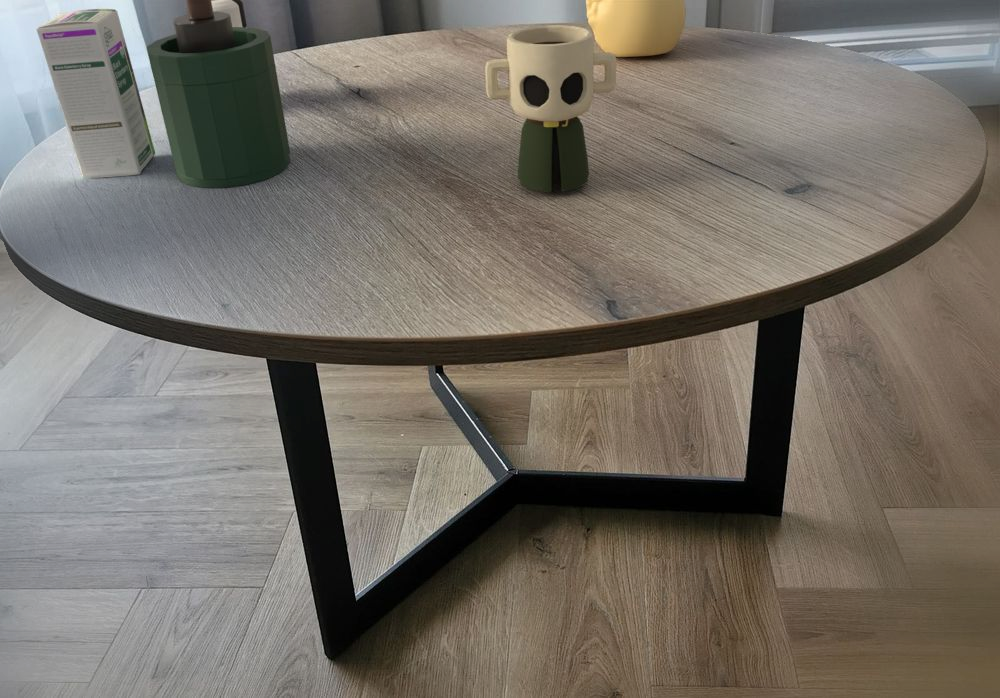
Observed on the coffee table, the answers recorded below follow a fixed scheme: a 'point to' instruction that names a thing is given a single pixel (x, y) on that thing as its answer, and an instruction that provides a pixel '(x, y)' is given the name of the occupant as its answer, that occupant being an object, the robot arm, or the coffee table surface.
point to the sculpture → (636, 25)
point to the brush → (203, 29)
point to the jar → (222, 110)
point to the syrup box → (97, 92)
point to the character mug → (551, 100)
